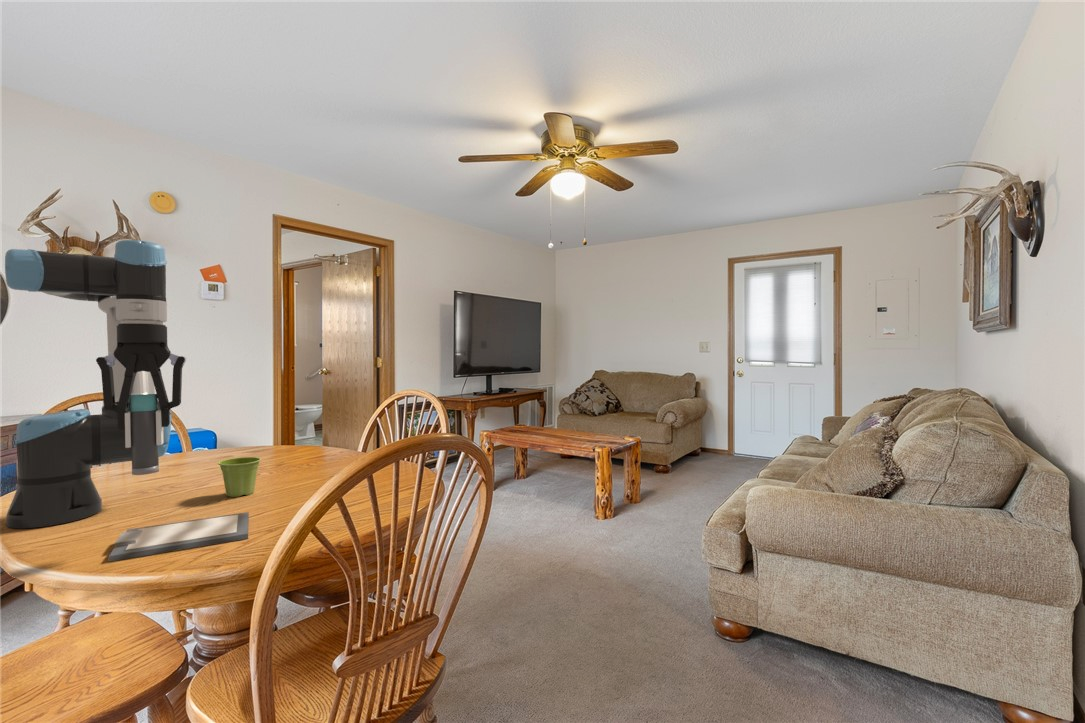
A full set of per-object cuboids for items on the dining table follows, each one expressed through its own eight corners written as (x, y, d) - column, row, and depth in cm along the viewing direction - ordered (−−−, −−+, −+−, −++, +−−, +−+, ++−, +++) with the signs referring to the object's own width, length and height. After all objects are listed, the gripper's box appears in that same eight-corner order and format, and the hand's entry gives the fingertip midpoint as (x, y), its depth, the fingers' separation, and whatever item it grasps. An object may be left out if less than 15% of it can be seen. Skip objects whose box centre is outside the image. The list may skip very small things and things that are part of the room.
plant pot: (231, 489, 132) (231, 456, 132) (268, 488, 133) (267, 456, 133) (210, 499, 123) (210, 465, 123) (250, 498, 123) (249, 464, 123)
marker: (129, 476, 92) (127, 395, 92) (134, 471, 96) (133, 394, 96) (156, 473, 94) (155, 394, 94) (161, 469, 98) (159, 393, 98)
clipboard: (108, 561, 87) (108, 551, 87) (127, 534, 100) (127, 525, 100) (248, 538, 97) (247, 529, 97) (248, 516, 110) (248, 508, 110)
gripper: (77, 321, 87) (80, 453, 87) (194, 323, 96) (196, 443, 96) (89, 323, 94) (91, 446, 94) (198, 325, 102) (200, 438, 103)
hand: (145, 444), depth 95 cm, fingers closed on marker, 4 cm apart
